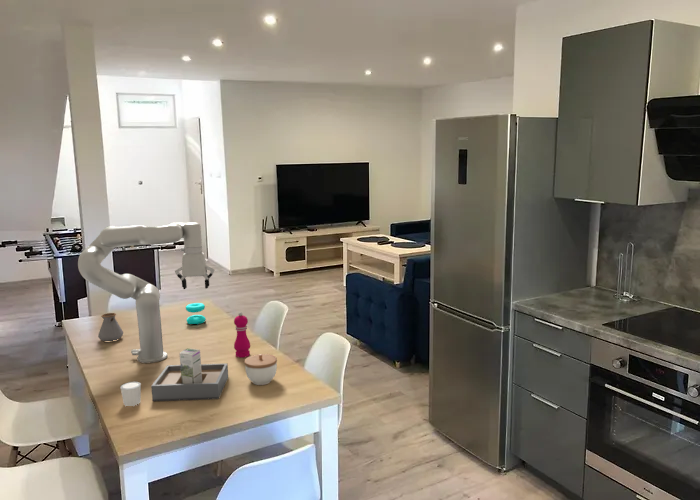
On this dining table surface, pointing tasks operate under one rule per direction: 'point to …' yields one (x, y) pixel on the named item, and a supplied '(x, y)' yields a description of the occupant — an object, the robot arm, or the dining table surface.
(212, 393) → the gray open box
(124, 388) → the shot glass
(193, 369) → the syrup box
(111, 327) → the coffee pot
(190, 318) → the donuts
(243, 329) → the pepper mill
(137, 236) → the robot arm
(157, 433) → the dining table surface
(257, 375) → the lidded bowl
